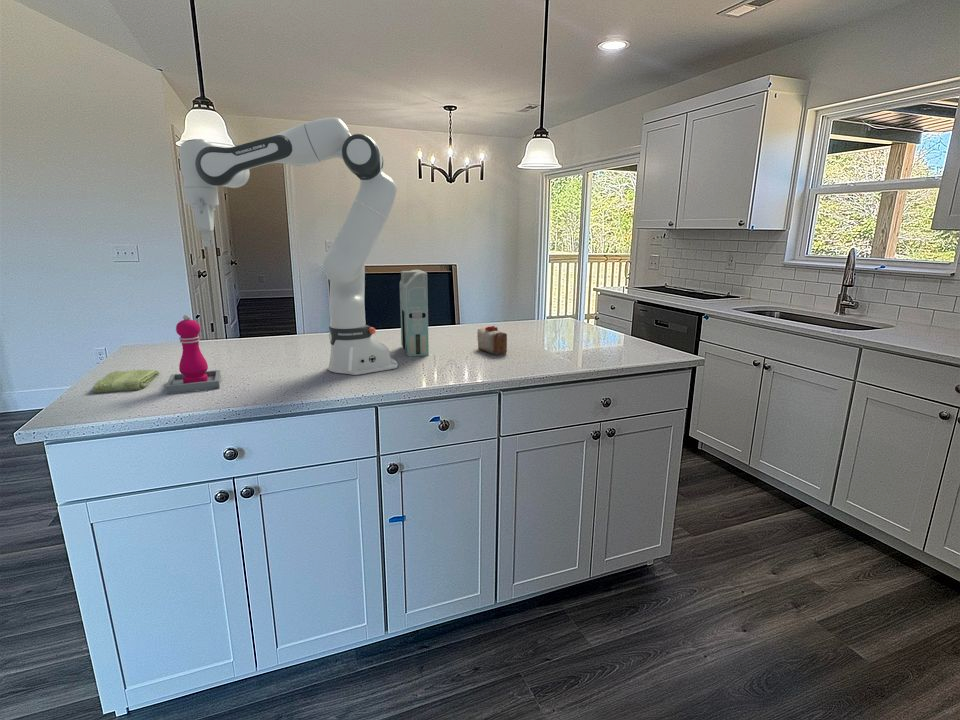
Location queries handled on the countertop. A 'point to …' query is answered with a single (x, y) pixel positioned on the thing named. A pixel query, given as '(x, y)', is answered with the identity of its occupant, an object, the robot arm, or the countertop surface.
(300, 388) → the countertop surface
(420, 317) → the device
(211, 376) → the slate tray
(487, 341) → the food item
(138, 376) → the washcloth
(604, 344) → the countertop surface
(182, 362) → the pepper mill
